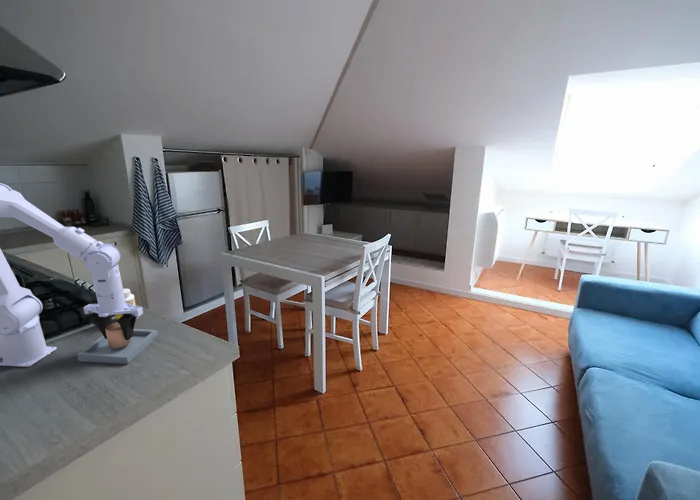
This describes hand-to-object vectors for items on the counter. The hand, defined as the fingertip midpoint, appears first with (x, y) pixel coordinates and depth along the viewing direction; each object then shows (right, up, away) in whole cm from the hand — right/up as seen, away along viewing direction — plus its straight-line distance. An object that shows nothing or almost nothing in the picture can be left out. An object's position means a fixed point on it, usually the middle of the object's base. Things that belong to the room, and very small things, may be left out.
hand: (119, 337), depth 89 cm
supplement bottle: (-8, +1, +15) cm, 16 cm away
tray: (0, -3, +1) cm, 3 cm away
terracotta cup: (0, -2, 0) cm, 2 cm away
